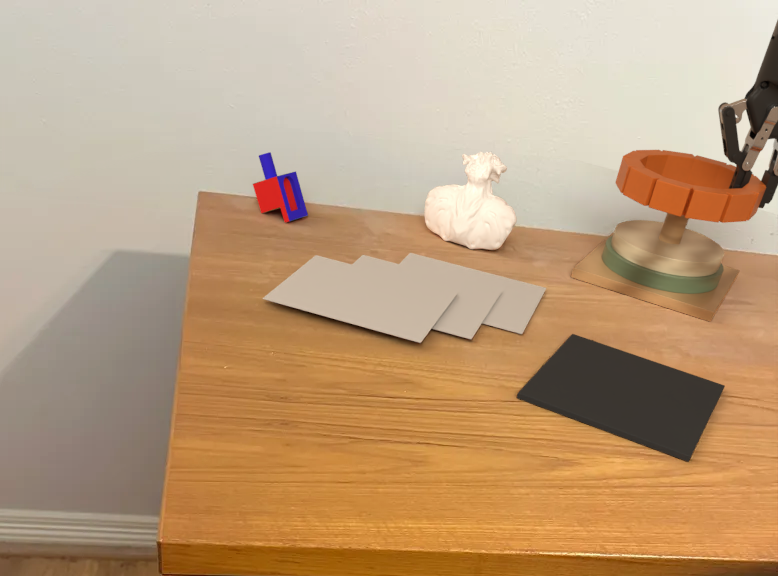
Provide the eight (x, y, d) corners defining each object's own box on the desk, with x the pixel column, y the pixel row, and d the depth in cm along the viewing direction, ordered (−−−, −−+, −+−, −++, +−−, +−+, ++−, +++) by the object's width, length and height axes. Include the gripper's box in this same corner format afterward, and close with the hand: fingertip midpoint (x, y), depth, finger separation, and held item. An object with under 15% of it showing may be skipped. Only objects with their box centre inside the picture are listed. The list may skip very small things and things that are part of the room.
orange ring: (767, 202, 104) (777, 176, 102) (735, 233, 92) (746, 205, 91) (641, 167, 109) (649, 142, 107) (597, 192, 98) (604, 164, 96)
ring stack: (736, 279, 110) (768, 199, 104) (710, 322, 98) (745, 235, 92) (609, 240, 115) (633, 163, 109) (570, 277, 103) (594, 192, 97)
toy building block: (284, 221, 109) (265, 155, 106) (308, 215, 107) (289, 146, 104) (265, 227, 107) (245, 159, 104) (289, 221, 104) (269, 151, 101)
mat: (722, 390, 85) (725, 385, 85) (688, 462, 73) (691, 456, 73) (570, 338, 90) (572, 333, 89) (516, 398, 78) (517, 392, 78)
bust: (506, 269, 108) (542, 185, 108) (497, 246, 101) (535, 155, 100) (421, 242, 112) (455, 160, 111) (406, 218, 105) (443, 130, 104)
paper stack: (345, 235, 104) (345, 230, 103) (546, 288, 99) (547, 282, 99) (261, 304, 86) (262, 298, 86) (502, 372, 81) (504, 365, 81)
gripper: (864, 39, 92) (795, 203, 103) (737, 19, 92) (681, 185, 103) (890, 51, 86) (814, 224, 97) (754, 30, 86) (693, 205, 97)
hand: (746, 203), depth 100 cm, fingers closed on orange ring, 2 cm apart
